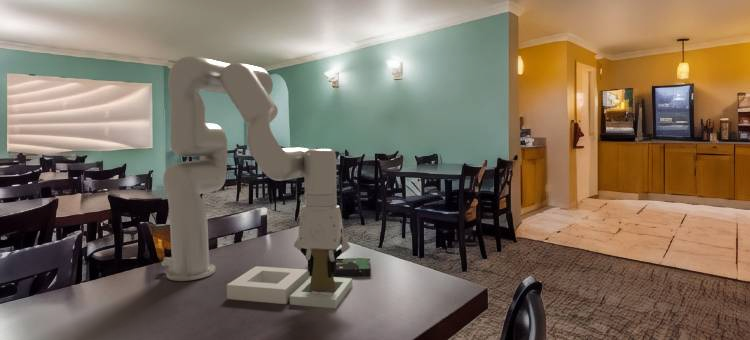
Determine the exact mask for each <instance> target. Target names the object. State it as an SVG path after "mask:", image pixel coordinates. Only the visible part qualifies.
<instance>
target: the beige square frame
mask: <svg viewBox="0 0 750 340" xmlns="http://www.w3.org/2000/svg"><path fill="white" fill-rule="evenodd" d="M308 279H309V271H308V269H305V268H304V269H302V268H301V269H300V268H289V267H288V268H287V267H286V268H285V267H276V266H275V267H272V266H257V265H256V266H254V267H252V268H250V269H249V270H248V271H246V272H245V273H243V274H241V275H239V276H238V277H236V278H235V279H233V280H232V281H231V282H229V283H227V284H226V295H227V296H226V298H227V300H235V301H247V302H258V303H268V304H280V305H281V304H282V305H287V304H288V303H289V304H290V295H292V294H293V293H294V292H295V291H296V290H297V289H298V288H299V287H300V286H301V285H302V284H303V283H304V282H305V281H307V280H308Z"/></svg>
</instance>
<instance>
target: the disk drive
mask: <svg viewBox="0 0 750 340" xmlns="http://www.w3.org/2000/svg"><path fill="white" fill-rule="evenodd" d="M371 269H372V268H371V258H366V257H365V258H364V257H357V258H356V257H354V258H352V257H351V258H350V257H349V258H347V257H346V258H336V273H335V274H334V275H333V277H340V278H357V277H358V278H362V277H363V278H364V277H368V278H369V277H371V276H372V270H371Z"/></svg>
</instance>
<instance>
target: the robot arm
mask: <svg viewBox="0 0 750 340" xmlns="http://www.w3.org/2000/svg"><path fill="white" fill-rule="evenodd" d="M273 84H274V83H273V79H272V76H271V75H270V73H269V72H268V71H267V70H266V69H264V68H262V67H259V66H255V65H251V64H247V63H242V62H236V63H235V62H233V63H228V62H223V61H220V60H214V59H211V58H206V57H201V56H196V55H195V56H193V55H190V56H189V55H188V56H184V57H180V58H179V59H177V60H176V61H175V62H174V63H173V64H172V66H171V68H170V70H169V74H168V77H167V86H168V92H169V98H170V99H169V101H170V135H169V137H170V138H169V139H170V148H171V150H172V152H173V153H174V154H175V155H176V156H179V157H183V158H184V157H185V158H190V157H191V158H193V157H195V158H196V157H199V160H191V161H189V160H188V161H180V162H176V163H173V164H171V165H170V166H169V167H167V168H166V170H165V171H164V173H163V177H162V178H163V180H162V183H163V187H164V191H165V193H166V198H167V202H168V212H169V215H168V216H169V227H170V229H169V230H170V247H171V248H170V249H171V250H170V252H171V256H169V257H167V256H165V257H163V261H162V262H160V264H161V266H162V267H168V270H167V272H166V273H165V274H166V275H165V277H166V279H168V280H169V281H174V282H186V281H187V282H188V281H195V280H201V279H204V278H207V277H210V276H212V275H213V274H214V273H215V272H216V265H214V264H213V263H210V250H209V231H208V229H209V228H208V212H207V211H208V210H207V206H206V204H205V202H204V200H203V199H202V197H201V194H208V193H213V192H217V191H219V190H220V189H222V188H223V186H224V185H225V184H226V181H227V180H226V179H227V169H228V168H227V167H228V139H227V135H226V132H225V131H224V129H223V128H222V127H221V126H220V125H219V124H216V123H214V122H206V105H205V103H204V100H203V97H202V96H201V94H200V93H199V92H200V91H202V92H203V91H204V92H211V93H219V94H226V95H227V96H228V97H229V98H230V100H231V102H232V103H233V105H234V106H235V108H236V109H237V111H238V112H239V114H240V115H241V117H242V119H243V121H244V122H245V124H246V127H247V128H246V140H247V146H248V149H249V151H250V154H251V156H252V157H253V159H254V160H255V163H257V165H258V167H259V168H260V170H261V171H262V172H263V173H264V175H266V176H267V177H268V178H269V179H271V180H273V181H279V182H281V181H287V180H291V179H292V180H293V179H299V178H304V193H303V194H300V196H299V201H301V202H303V203H304V205H303V206H301V208H300V212H299V215H300V216H299V224H298V236H297V239H296V240H295V242H294V243H293V246H294V247H295V249H297V250H299V251H300V252H301V253H302V255H303V256H304V257H305V259H306V260H307V270H308V276H309V277H311V276H312V270H313V256H312V254H311V249H322V250H329V261H328V276H329V278H331V277H332V276H333V275H334V274H335V273H336V259H338V258H339V257H340V256H341V255H342V254H344V253H346V251H348V250H350V248H351V246H350V244H349V241H348V240H347V239H346V238H345V236H344V227H343V218H342V217H343V216H342V213H341V208H340V207H341V206H340V205H337V204H338V203H337V202H338V201H337V200H338V198H337V197H338V196H337V195H338V193H337V191H338V190H337V154H336V151H334V150H333V149H331V148H307V147H306V148H305V147H281V145H280V144H279V141H278V140H277V139H276V137H275V136H274V134H273V132H272V130H271V126H270V125H271V124H270V123H271V122H273V121H274V120H275V118H276V117H277V115H278V113H279V111H278V107H277V105H276V103H275V102H274V100H273V99H272V97H270V95H271V93H272V91H273V89H274V88H273V86H274V85H273ZM340 246H341V247H340ZM339 247H340V248H339ZM338 248H339V249H338Z"/></svg>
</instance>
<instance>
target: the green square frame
mask: <svg viewBox="0 0 750 340" xmlns="http://www.w3.org/2000/svg"><path fill="white" fill-rule="evenodd" d="M310 284H311V276H309V277H308V280H307V281H305V282H304V283H303V284H302V285H301V286H300V287H299V288H298V289H297V290H296V291H295V292H294V293H293V294H292V295H290V303H289V305H292V306H294V305H295V306H301V307H313V308H314V307H315V308H323V309H324V308H325V309H326V308H327V309H335V310H336V309H337V307H338V306H339V305H340V303H341V302H342V301H343V299H344V298H345V297H346V295H347V294H348V292H349V291H350V290H351V289H352V287H353V277H334V284H335V288H334V289H333V290H335V292H334V293H333V294H332V293H324V292H311V291H312V290H311V289H310Z"/></svg>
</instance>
